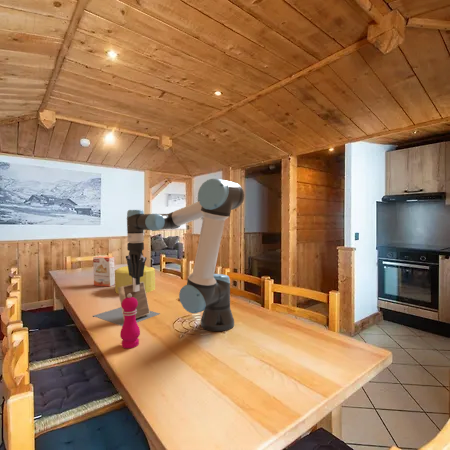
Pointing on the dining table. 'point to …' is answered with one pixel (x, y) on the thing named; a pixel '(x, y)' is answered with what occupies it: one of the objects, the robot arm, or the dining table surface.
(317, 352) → the dining table surface
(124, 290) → the brown wooden block
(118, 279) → the cheese
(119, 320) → the mat
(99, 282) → the cracker box
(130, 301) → the pepper mill
